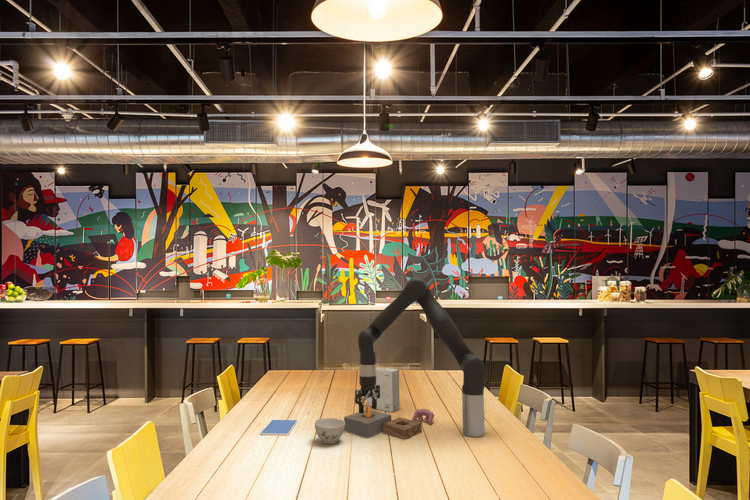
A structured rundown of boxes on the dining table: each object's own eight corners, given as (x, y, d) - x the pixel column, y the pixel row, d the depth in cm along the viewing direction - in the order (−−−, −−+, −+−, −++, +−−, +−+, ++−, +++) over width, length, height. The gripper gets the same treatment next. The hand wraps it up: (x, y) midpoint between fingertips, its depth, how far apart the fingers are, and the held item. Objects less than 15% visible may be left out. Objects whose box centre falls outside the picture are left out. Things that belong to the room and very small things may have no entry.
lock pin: (367, 428, 198) (367, 405, 199) (372, 429, 196) (372, 406, 197) (363, 429, 196) (363, 406, 196) (368, 431, 194) (368, 408, 194)
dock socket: (368, 421, 206) (368, 408, 207) (391, 428, 197) (391, 414, 198) (344, 430, 194) (344, 417, 195) (367, 438, 185) (367, 423, 186)
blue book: (272, 422, 209) (272, 419, 209) (298, 422, 208) (298, 419, 208) (259, 436, 189) (259, 433, 189) (288, 437, 189) (288, 433, 189)
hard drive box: (400, 409, 227) (400, 369, 228) (392, 412, 221) (392, 372, 222) (374, 404, 235) (374, 366, 237) (366, 408, 229) (366, 369, 230)
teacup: (341, 448, 174) (341, 427, 175) (310, 446, 176) (310, 426, 177) (348, 435, 189) (348, 416, 190) (320, 433, 191) (320, 414, 192)
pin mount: (400, 426, 200) (400, 417, 201) (421, 432, 193) (421, 422, 193) (383, 433, 191) (383, 423, 192) (405, 439, 184) (405, 429, 184)
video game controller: (433, 427, 204) (436, 411, 207) (430, 425, 201) (432, 409, 204) (414, 423, 209) (416, 408, 212) (410, 421, 206) (413, 406, 209)
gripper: (372, 370, 205) (372, 406, 204) (350, 375, 195) (350, 413, 193) (384, 372, 200) (384, 409, 199) (363, 378, 190) (363, 416, 189)
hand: (367, 411), depth 196 cm, fingers open, 8 cm apart
